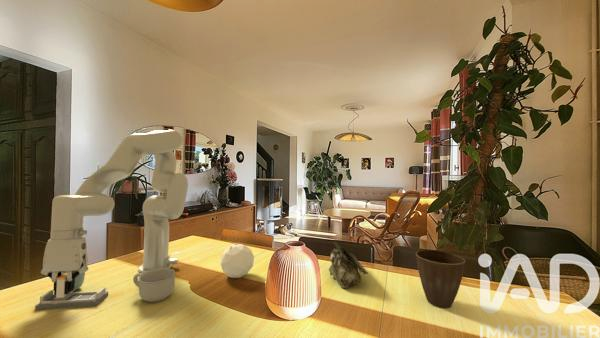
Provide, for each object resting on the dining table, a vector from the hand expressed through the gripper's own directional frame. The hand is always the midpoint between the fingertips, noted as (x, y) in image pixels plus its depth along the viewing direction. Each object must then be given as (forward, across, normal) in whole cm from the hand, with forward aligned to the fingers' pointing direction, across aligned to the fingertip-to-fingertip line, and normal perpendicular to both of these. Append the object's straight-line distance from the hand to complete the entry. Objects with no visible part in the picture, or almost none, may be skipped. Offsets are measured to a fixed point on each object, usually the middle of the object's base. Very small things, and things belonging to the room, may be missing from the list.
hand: (63, 292), depth 80 cm
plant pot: (+3, -122, +18) cm, 123 cm away
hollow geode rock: (+3, -98, -8) cm, 99 cm away
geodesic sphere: (+3, -53, -14) cm, 55 cm away
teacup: (+4, -26, 0) cm, 26 cm away
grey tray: (+3, -3, 0) cm, 4 cm away
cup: (+4, +4, -9) cm, 10 cm away
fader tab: (+2, 0, 0) cm, 2 cm away
